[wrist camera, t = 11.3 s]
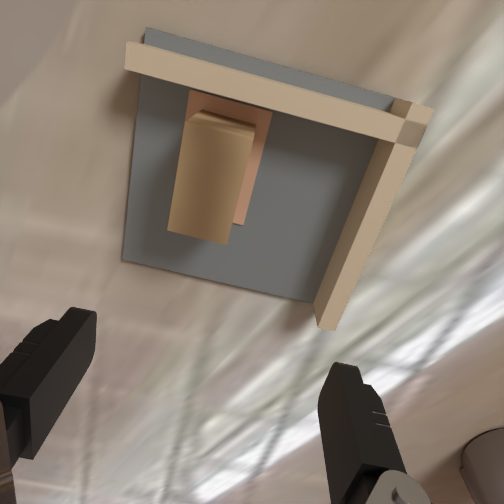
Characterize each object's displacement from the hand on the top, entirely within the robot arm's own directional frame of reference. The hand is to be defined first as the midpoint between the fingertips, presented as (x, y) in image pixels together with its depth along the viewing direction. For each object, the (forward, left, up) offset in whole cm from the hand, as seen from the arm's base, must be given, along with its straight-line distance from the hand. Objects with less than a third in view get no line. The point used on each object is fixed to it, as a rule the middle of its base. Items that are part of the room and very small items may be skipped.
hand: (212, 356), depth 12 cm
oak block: (+1, +2, -19) cm, 19 cm away
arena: (0, -1, -19) cm, 19 cm away
